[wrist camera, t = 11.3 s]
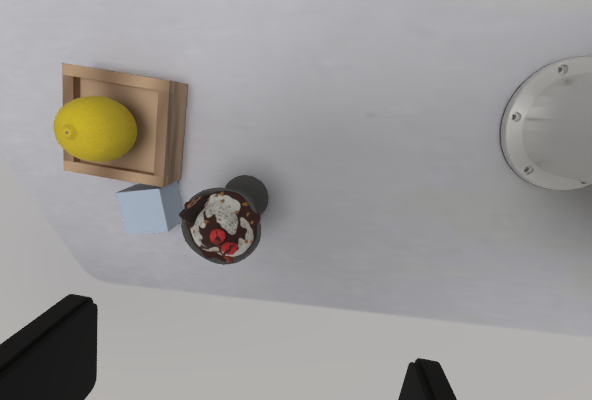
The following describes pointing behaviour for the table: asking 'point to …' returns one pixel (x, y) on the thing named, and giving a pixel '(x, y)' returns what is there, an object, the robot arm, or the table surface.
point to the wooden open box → (149, 119)
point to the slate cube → (150, 208)
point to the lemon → (95, 129)
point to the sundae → (225, 220)
